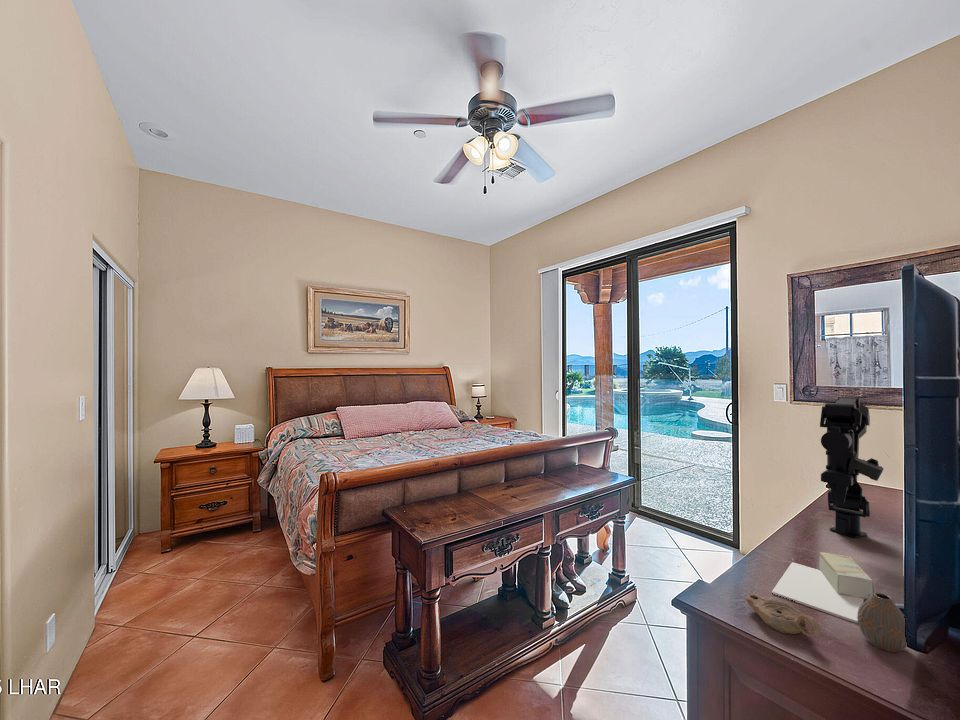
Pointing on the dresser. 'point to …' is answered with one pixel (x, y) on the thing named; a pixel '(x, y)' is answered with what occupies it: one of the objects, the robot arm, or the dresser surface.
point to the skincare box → (846, 575)
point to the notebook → (816, 592)
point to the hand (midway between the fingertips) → (841, 503)
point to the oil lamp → (782, 616)
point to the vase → (882, 623)
